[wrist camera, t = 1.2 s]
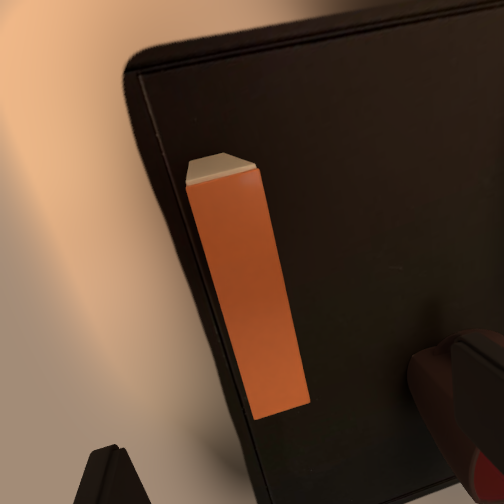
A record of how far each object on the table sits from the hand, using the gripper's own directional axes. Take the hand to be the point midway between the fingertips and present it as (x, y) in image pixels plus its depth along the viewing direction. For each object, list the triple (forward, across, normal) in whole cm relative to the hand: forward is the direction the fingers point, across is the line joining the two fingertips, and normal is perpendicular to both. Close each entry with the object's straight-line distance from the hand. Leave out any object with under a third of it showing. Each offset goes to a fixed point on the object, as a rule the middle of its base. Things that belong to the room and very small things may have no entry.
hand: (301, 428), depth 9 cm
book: (+22, 0, -1) cm, 23 cm away
